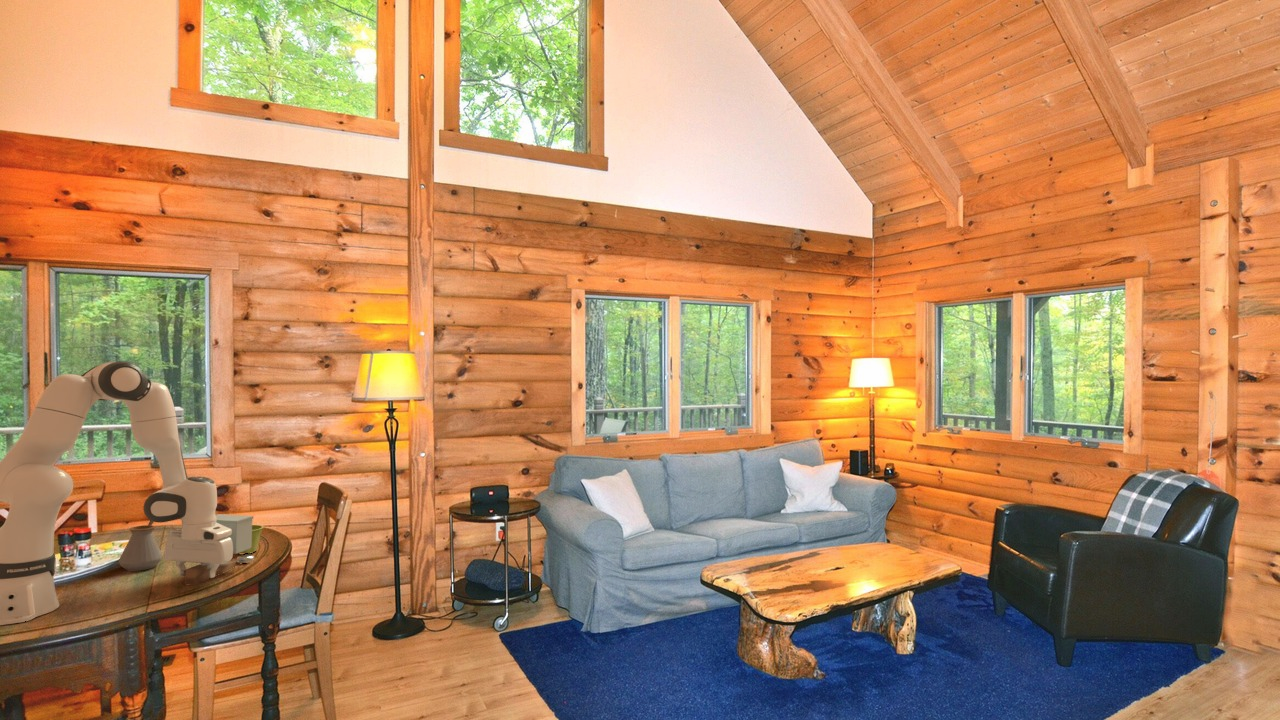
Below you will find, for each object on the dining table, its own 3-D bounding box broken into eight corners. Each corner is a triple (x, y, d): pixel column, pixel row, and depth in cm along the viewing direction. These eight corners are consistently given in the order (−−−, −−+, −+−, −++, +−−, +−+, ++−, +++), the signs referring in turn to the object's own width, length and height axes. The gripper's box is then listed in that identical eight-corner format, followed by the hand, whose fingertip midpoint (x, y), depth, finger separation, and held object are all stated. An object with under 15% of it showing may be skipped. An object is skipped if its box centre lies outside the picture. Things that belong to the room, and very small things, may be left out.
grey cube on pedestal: (235, 574, 209) (237, 521, 209) (199, 572, 211) (201, 519, 211) (251, 567, 217) (253, 516, 217) (216, 565, 218) (218, 514, 218)
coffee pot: (156, 571, 211) (157, 523, 211) (112, 574, 206) (113, 525, 207) (176, 553, 231) (177, 509, 231) (136, 555, 226) (137, 511, 227)
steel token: (237, 565, 219) (238, 559, 219) (235, 562, 223) (235, 556, 223) (255, 563, 222) (255, 557, 222) (252, 559, 226) (253, 553, 226)
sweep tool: (194, 585, 199) (195, 570, 199) (185, 584, 199) (185, 569, 199) (235, 567, 216) (236, 553, 216) (227, 567, 217) (227, 553, 217)
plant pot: (241, 548, 238) (242, 524, 238) (267, 549, 238) (268, 524, 238) (225, 555, 229) (226, 530, 229) (252, 556, 229) (253, 531, 229)
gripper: (159, 531, 200) (157, 577, 200) (221, 535, 198) (220, 581, 197) (175, 526, 206) (174, 571, 206) (237, 530, 204) (235, 575, 204)
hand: (197, 576), depth 202 cm, fingers open, 8 cm apart
